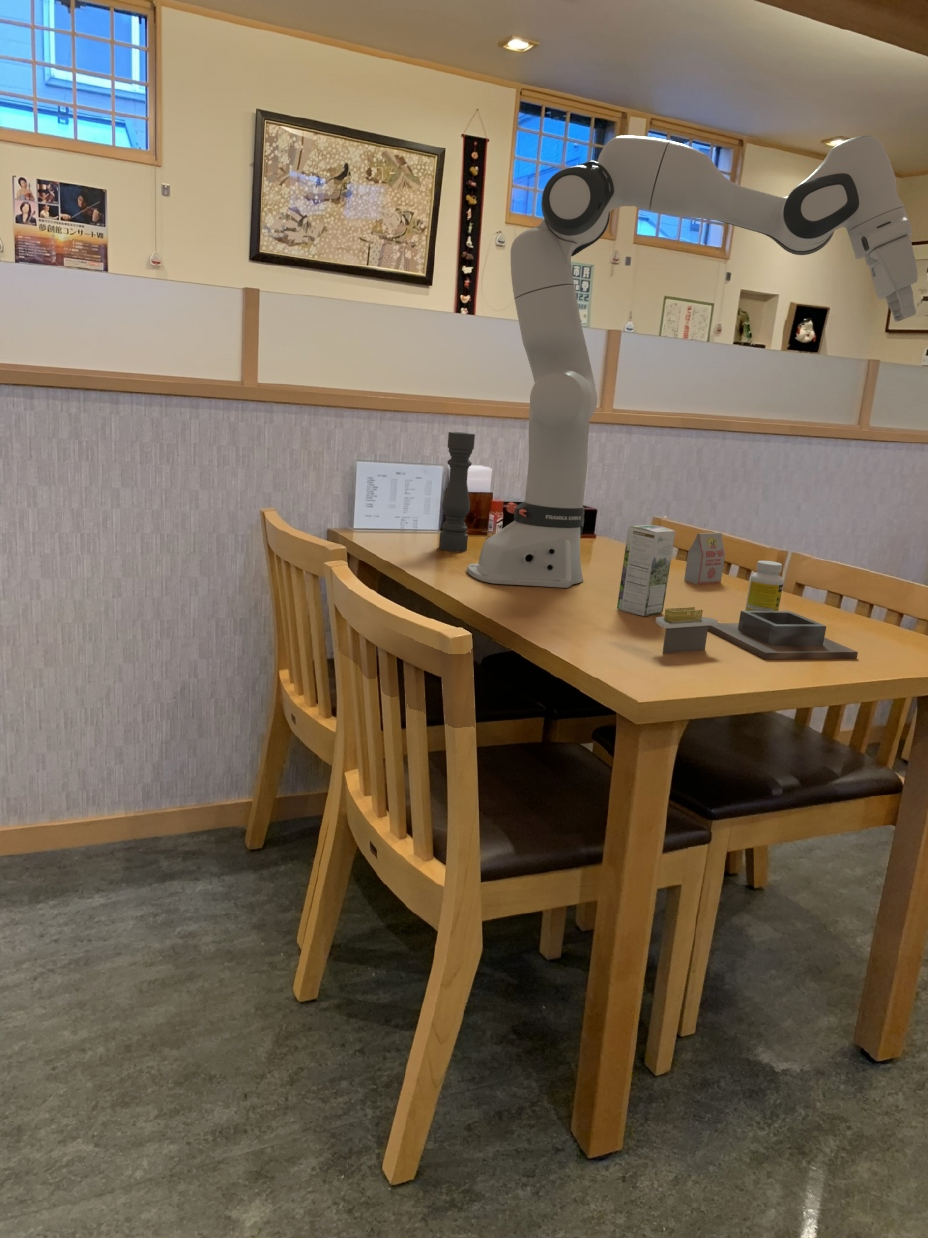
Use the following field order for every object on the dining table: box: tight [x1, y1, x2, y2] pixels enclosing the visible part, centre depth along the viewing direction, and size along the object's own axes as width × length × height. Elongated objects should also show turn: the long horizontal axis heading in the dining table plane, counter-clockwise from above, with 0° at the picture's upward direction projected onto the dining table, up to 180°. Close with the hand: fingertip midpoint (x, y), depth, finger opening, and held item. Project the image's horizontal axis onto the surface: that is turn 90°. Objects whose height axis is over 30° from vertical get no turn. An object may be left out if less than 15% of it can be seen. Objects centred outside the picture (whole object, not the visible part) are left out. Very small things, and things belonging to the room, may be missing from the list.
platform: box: [655, 606, 719, 655], centre depth 129 cm, size 12×18×7 cm, turn 118°
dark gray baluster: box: [438, 431, 476, 552], centre depth 193 cm, size 6×6×25 cm
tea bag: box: [683, 532, 726, 585], centre depth 182 cm, size 4×7×10 cm, turn 123°
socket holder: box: [708, 610, 859, 660], centre depth 138 cm, size 16×16×4 cm
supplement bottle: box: [744, 560, 784, 611], centre depth 153 cm, size 5×5×10 cm
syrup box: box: [616, 524, 676, 617], centre depth 150 cm, size 6×6×14 cm
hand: (905, 318), depth 150 cm, fingers open, 8 cm apart
